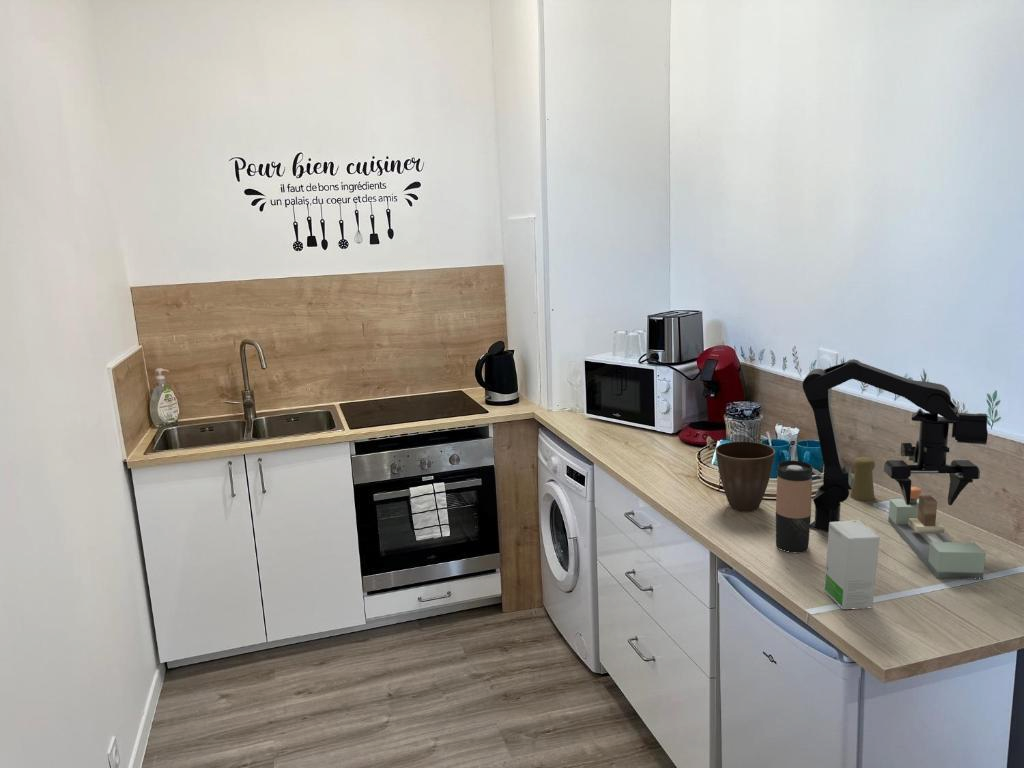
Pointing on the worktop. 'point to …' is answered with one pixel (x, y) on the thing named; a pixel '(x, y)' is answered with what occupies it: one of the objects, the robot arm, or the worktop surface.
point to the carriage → (926, 516)
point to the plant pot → (744, 473)
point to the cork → (863, 479)
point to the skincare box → (851, 564)
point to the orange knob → (914, 495)
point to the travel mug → (793, 505)
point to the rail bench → (937, 546)
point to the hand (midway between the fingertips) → (928, 504)
